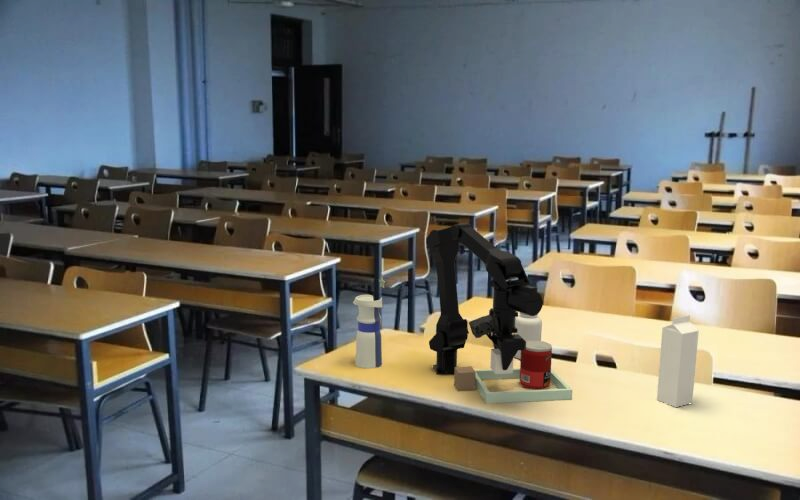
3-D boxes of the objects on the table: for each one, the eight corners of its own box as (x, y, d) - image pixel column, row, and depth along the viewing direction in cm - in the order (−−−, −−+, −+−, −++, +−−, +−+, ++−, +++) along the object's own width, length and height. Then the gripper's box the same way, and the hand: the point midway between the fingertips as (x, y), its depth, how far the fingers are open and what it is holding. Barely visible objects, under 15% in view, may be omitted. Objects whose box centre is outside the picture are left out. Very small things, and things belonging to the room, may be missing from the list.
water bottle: (365, 356, 212) (365, 273, 207) (389, 362, 207) (389, 277, 202) (347, 364, 205) (347, 278, 201) (371, 370, 200) (371, 282, 196)
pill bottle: (542, 361, 209) (544, 311, 207) (514, 361, 209) (516, 310, 207) (537, 352, 217) (540, 304, 214) (511, 352, 217) (513, 303, 214)
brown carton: (454, 385, 190) (454, 367, 189) (470, 384, 191) (471, 366, 190) (457, 391, 186) (458, 372, 185) (475, 390, 186) (475, 372, 186)
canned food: (550, 391, 187) (552, 350, 185) (518, 388, 188) (520, 348, 186) (550, 380, 194) (552, 341, 192) (520, 378, 195) (521, 339, 193)
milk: (692, 403, 179) (700, 318, 175) (675, 408, 176) (683, 321, 172) (672, 395, 184) (680, 312, 180) (655, 399, 181) (663, 315, 177)
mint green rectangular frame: (470, 378, 195) (470, 370, 194) (548, 375, 198) (549, 366, 197) (486, 403, 178) (486, 393, 178) (571, 399, 181) (572, 389, 181)
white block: (490, 367, 184) (491, 348, 183) (507, 367, 184) (508, 348, 184) (495, 373, 179) (495, 354, 179) (512, 373, 180) (513, 354, 179)
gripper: (464, 298, 187) (462, 355, 190) (482, 317, 169) (480, 381, 172) (505, 297, 188) (503, 354, 191) (528, 316, 170) (525, 379, 173)
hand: (502, 366), depth 182 cm, fingers closed on white block, 4 cm apart
